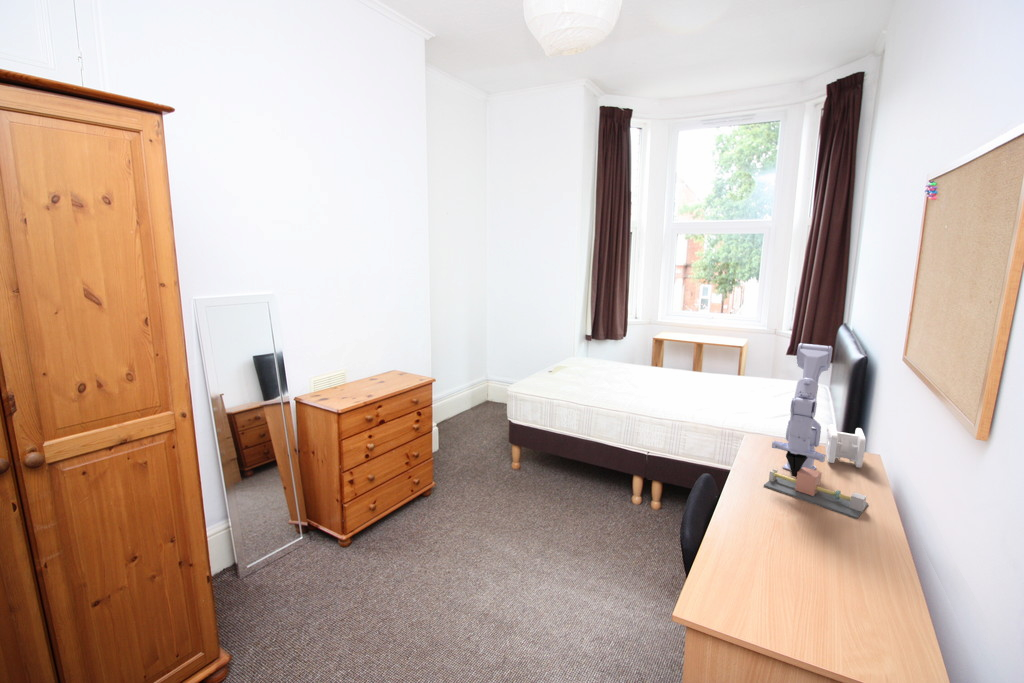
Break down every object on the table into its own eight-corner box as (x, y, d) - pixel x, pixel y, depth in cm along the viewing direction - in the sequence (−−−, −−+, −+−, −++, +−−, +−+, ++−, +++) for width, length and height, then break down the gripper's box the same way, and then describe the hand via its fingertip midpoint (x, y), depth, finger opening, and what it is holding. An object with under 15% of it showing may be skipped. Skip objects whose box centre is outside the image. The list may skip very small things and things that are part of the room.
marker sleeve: (801, 484, 149) (803, 466, 148) (819, 490, 146) (821, 472, 145) (795, 490, 146) (797, 471, 145) (813, 496, 142) (815, 477, 141)
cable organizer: (862, 472, 161) (867, 440, 158) (825, 465, 166) (830, 434, 164) (857, 456, 173) (861, 427, 171) (823, 450, 179) (827, 421, 176)
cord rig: (777, 475, 158) (778, 463, 157) (867, 504, 139) (870, 491, 138) (763, 486, 150) (764, 473, 149) (857, 519, 131) (859, 504, 130)
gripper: (770, 431, 148) (765, 471, 151) (822, 445, 137) (816, 487, 140) (778, 426, 153) (773, 464, 155) (829, 439, 142) (823, 480, 144)
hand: (794, 475), depth 148 cm, fingers closed
